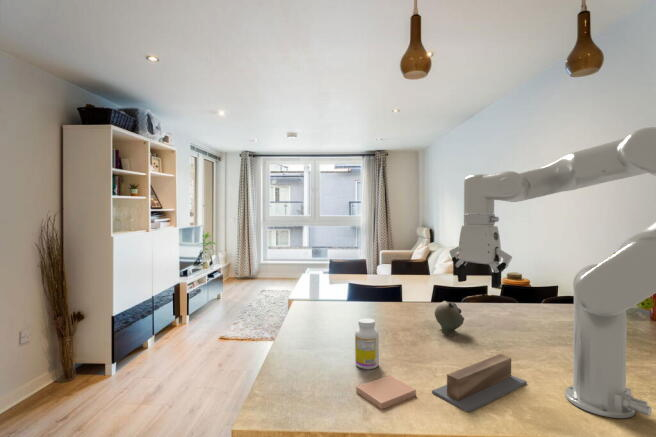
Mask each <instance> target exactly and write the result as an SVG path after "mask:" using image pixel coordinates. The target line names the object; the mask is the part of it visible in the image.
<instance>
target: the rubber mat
mask: <svg viewBox="0 0 656 437" xmlns="http://www.w3.org/2000/svg"><path fill="white" fill-rule="evenodd" d="M527 383H528V382H527V380H525V379H522V378H519V377H518V376H514V375H512V374H511V377H510V378H508V379H505V380H503V381H501V382H499V383H497V384H495V385H492V386H490V387H488V388H486V389H484V390H481V391H479V392H477V393H475V394H473V395H471V396H468V397H466V398H464V399H462V400H460V401H456V400H454V399H453V398H451V397H449V396H447V384H445V385H443V386H440V387H437V388H435V389H433V390H431V393H432V394H433V395H435V396H437V397H439V398H441V399H442V400H444V401H446V402H448V403H450V404H452V405H454V406H455V407H458V408H459V409H462V410H463V411H465V412H467V413H470V412H472V411H475V410H477V409H478V408H480V407H483V406H485V405H487V404H489V403H491V402H492V401H495V400H496V399H498V398H501V397H502V396H505V395H507V394H508V393H510V392H512V391H515V390H516V389H518V388H521V387H522V386H524V385H527Z"/></svg>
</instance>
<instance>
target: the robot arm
mask: <svg viewBox="0 0 656 437" xmlns="http://www.w3.org/2000/svg"><path fill="white" fill-rule="evenodd" d="M645 174H650V175H653V176H656V127H644V128H639V129H638V130H635V131H633V132H631V133H630V134H629V135H627V136H626V137H625V138H621V139H618V140H614V141H610V142H608V143H604V144H601V145H600V144H599V145H597V146H596V145H595V146H592V147H588V148H585V149H581V150H578V151H573V152H571V153H568V154H566V155H565V156H562V157H561V158H559V159H558V160H556V161H554V162H552V163H550V164H547V165H545V166H541V167H538V168H535V169H531V170H527V171H524V172H521V173H518V172H516V171H510V170H509V171H508V170H507V171H502V172H497V173H491V174H483V173H481V174H471V175H468V176H466V177H465V178H464V181H463V225H461V228H460V232H459V240H458V242H459V243H458V246H456V247H455V248H452V249H450V250H449V255H450V257H451V260H452V262H453V263H454V264H455V267H456V268H457V275H456V276H457V282H459V283H462V282H463V283H464V282H466V281H467V280H468V279H467V277H468V276H467V275H468V274H467V271H468V270H467V266H466V265H467V264H468V263H472V264H473V263H474V264H482V265H489V267H490V268H491V269H492V272H491V273H490V274H491V277H490V278H491V282H490V283H491V286H490V287H491V288H493V289H497V288H500V287H501V285H502V272H504V270H505V269H507V268H508V267H509V265H510V262H511V261H512V259H513V256H512V255H511V254H509V253H507V252H505V251H504V250H502V246H501V244H502V243H501V239H500V233H499V227H498V226H497V225H495V223H497V222H498V223H499V221H500V218H499V217H498V216H496V215H495V201H501V202H510V203H519V202H523V201H527V200H531V199H536V198H540V197H545V196H549V195H553V194H559V193H561V192H563V193H564V192H570V191H575V190H578V189H583V188H586V187H587V188H588V187H591V186H596V185H600V184H605V183H609V182H612V181H613V182H614V181H617V180H623V179H627V178H631V177H635V176H639V175H640V176H641V175H645ZM502 259H503V260H502ZM501 261H502V262H501ZM572 284H573V286H572V287H573V349H572V350H573V355H572V358H573V359H572V360H573V369H572V370H573V373H572V375H573V377H572V378H573V379H572V380H573V381H572V383H573V384H572V385H570V386H567V387H566V388H565V390H564V392H565V393H564V394H565V395H564V396H565V398H566V399H567V400H568V402H570V403H571V404H573V405H574V406H576V407H578V408H579V409H582V410H583V411H586V412H589V413H592V414H594V415H598V416H601V417H606V418H610V419H611V418H612V419H613V418H614V419H628V418H631V417H633V416H634V415H635V414H636V412H638V413H640V414H643V415H645V416H647V417H651V414H652V406H651V405H649V404H648V402H647V401H646V400H642V399H639V398H636V397H634V396H633V395H632V389H631V388H629V387H627V339H628V338H627V327H628V326H627V311H628V310H630V309H632V308H633V307H635V306H637V305H638V304H641V303H642V302H644V301H646V299H649V298H650V297H652V296H654V295H655V294H656V220H655V221H654V222H652V223H650V225H648V226H645V228H644V229H642V230H640V231H638V232H637V233H636V234H634V235H632V236H630V237H629V238H626V239H625V240H624V242H622V243H621V244H620V246H619V248H618V250H617V251H616V252H614V253H613V254H611V255H610V256H609V257H607V258H606V259H604V260H603V261H601V262H600V263H595V264H588V265H586V266H584V267H582V268H580V269H579V270H578V271H577V272H576V274H575V277H574V278H573V283H572Z"/></svg>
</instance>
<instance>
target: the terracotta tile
mask: <svg viewBox="0 0 656 437" xmlns="http://www.w3.org/2000/svg"><path fill="white" fill-rule="evenodd" d="M355 387H356V388H355V389H356V390H355V391H356V393H357V394H358V395H359V396H361V397H362V398H364V399H365V400H367V401H369V402H370V403H371V404H373V405H375V406H376V407H377V408H379V409H381V410H383V409H386V408H388V407H390V406H393V405H395V404H398V403H401V402H404V401H406V400H408V399H410V398H412V397H415V396H417V389H416V388H414V387H412V386H410V385H408V384H406V383H404V382H403V381H401V380H399V379H398V378H395V377H393V376H392V375H386V376H384V377H381V378H378V379H375V380H372V381H370V382H366V383H363V384H361V385H357V386H355Z"/></svg>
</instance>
